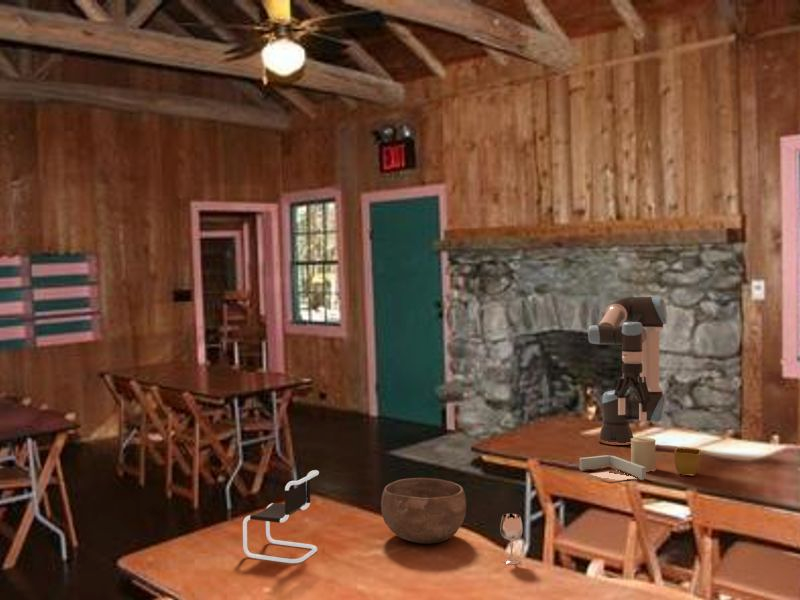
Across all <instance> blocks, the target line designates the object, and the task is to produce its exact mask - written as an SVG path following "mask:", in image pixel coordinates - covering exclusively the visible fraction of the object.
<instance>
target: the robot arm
mask: <svg viewBox="0 0 800 600" xmlns="http://www.w3.org/2000/svg"><path fill="white" fill-rule="evenodd" d="M602 317H603V318H602V319H601V320H600V322H599V324H594V325H592V324H591V325H589V327H588V328H587V329H588V331H587V338H588V342H589V343H590V344H593V345H594V344H595V345H621V351H622V352H621V353H622V354H621V359H622V360H621V361H622V363H621V372H620V373H619V374H618V380H617V384H616V386H615V389H612V390H607V391H605V392H604V393H603V394H602V402H601V403H602V425H601V429H600V432H599V435H598V440H599V439H601V440H604V441H608V442H618V443H626V442H631V438H634V434H633V431H632V428H631V425H630V422H631V421H637V422H638V421H640V422H650V423H652V422H658V423H659V422H661V421H662V420H664V419H663V418H664V415H665V412H666V404H667V396H666V395H665V394H663V390H662V389H661V387H660V332H661V331H662V330H663V329H664V325H666V324H667V323H668V314H667V308H666V302H665V300H664V299H663V298H662V297H657V296H626V297H621V298H619V299H616V300H615V301H612V302H611V303H610V304H608V305H607V307H606V309H605V311H604V316H602ZM629 388H632V389H634V393H631V391H630V389H629Z"/></svg>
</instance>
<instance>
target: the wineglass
mask: <svg viewBox="0 0 800 600" xmlns="http://www.w3.org/2000/svg"><path fill="white" fill-rule="evenodd" d="M499 527H500V534H501V536H502V538H503V539H505V540H506V541H509V548H510V549H509V550H510V556H509V557H508V558H504V559H503V560H502V562H503V563H504V564H507V565H518V564H520V563H521V560H520V559H519V558H514V556H513V548H514V542H513V541H517V540H519V539H520V538H521V537H522V535H523V527H524V526H523V521H522V517H521V516H520V515H519V514H517V513H505V514H502V516H501V521H500V526H499Z"/></svg>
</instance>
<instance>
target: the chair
mask: <svg viewBox="0 0 800 600" xmlns="http://www.w3.org/2000/svg"><path fill="white" fill-rule="evenodd" d="M319 473H320V471H319V470H317V469H315V470H314V469H313V470H311V471H309V472H308V473H307V474H306V476H304V477H302V478H300V479H299V480H291V481H288V482H287V483H286V485H285V487H284V503H278V502H271V503H270V504H268V505H267V506H266V508H265V509H264V510H262V511H259V512H258V513H255V514H250V515H247V516H245V517H244V519H243V521H242V547H243V552H244V553H245V555H246V556H248V558H253V559H257V560H265V561H266V560H267V561H272V562H278V563H279V562H281V563H287V564H299V563H302V562H304V561H305V560H307V559H308V558H310V557H311V556H312V555H313V554H315V553H316V552H317V551H318V547H317V546H316V545H314V544H310V543H303V542H302V543H301V542H293V541H286V540H280V539H279V540H278V539H274V538H273V537H272V536H271V527H270V526H271V523H278V524H279V523H280V524H282V523H285V522H286V521H288V519H289V517H290V516H291V515H293V514H294V513H296V512H297V511H305V510H307V509H308V508H309V507H310V505H311V479H314V478H315V477H317V476H318V475H319ZM298 485H299V486H298ZM291 486H298V487H295V488H292V489H290V488H291ZM250 520H254V521H262V522H265V534H266V535H265V536H266V538H267V540H268V541H269V543H271V544H273V545H281V546H290V547H298V548H304V549H311V550H310V551H309V552H307V553H306V554H304V555H303V556H301V557H298V558H287V557H279V556H273V555H271V556H270V555H265V554H257V553H252V552H250V551H249V549H248V521H250Z"/></svg>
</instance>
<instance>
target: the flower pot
mask: <svg viewBox="0 0 800 600" xmlns="http://www.w3.org/2000/svg"><path fill="white" fill-rule="evenodd" d="M701 451H702V450H701V449H698V448H697V449H696V448H685V447H676V448H675V449H674V452H673V453H674V454H673V456H674V465H675V469H676V471H677V473H678V474H679V473H680V474H695V475H696V473H697V472H698V469H699V465H700V461H701V453H702V452H701Z"/></svg>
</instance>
